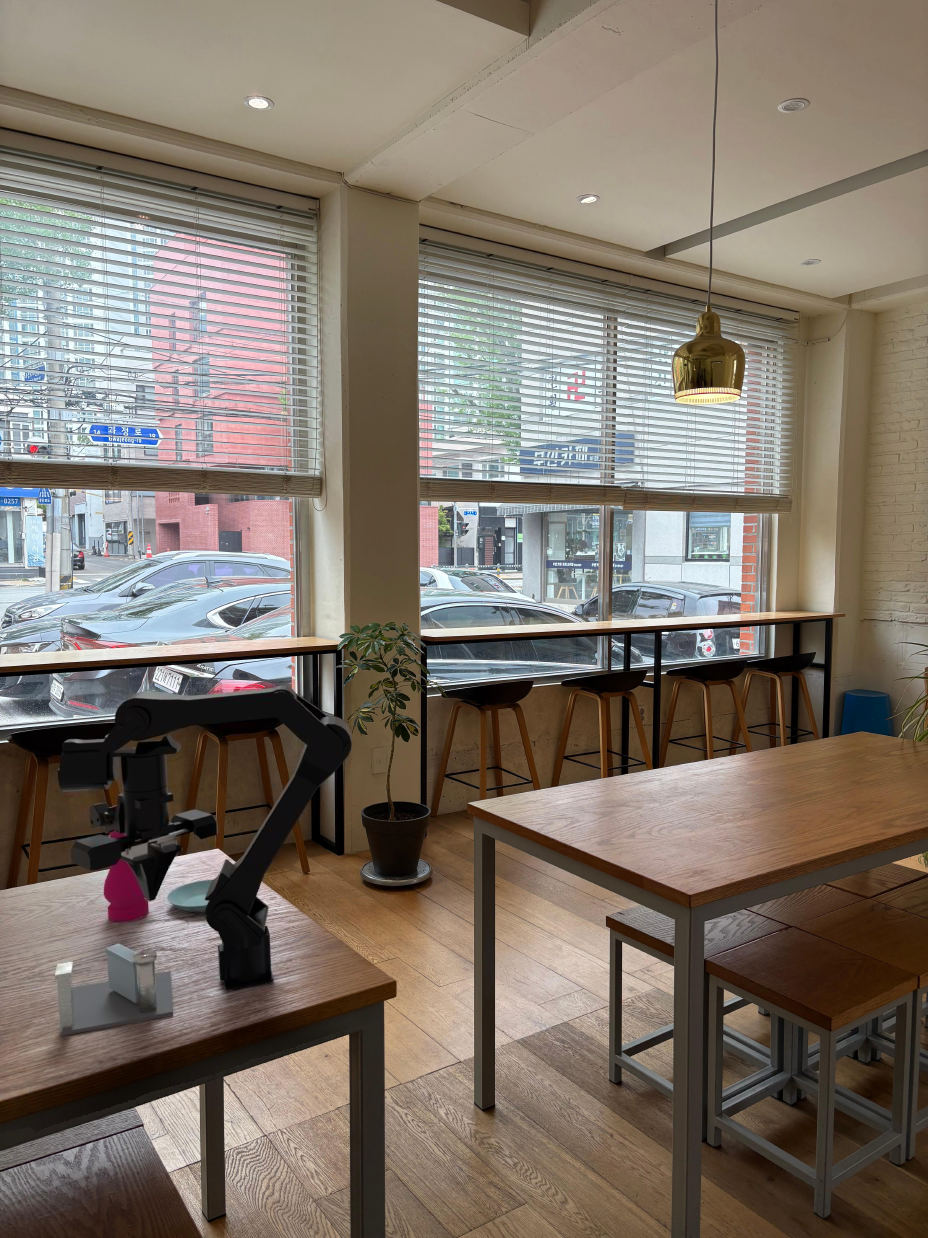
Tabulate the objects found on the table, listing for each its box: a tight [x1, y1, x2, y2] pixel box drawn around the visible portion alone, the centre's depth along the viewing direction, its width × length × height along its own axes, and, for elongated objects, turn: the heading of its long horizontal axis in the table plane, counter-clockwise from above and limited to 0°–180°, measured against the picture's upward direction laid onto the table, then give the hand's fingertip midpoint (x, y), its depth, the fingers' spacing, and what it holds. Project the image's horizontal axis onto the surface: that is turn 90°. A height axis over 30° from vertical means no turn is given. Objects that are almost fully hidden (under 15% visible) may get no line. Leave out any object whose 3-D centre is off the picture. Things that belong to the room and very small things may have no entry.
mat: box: [61, 970, 174, 1037], centre depth 117 cm, size 13×12×1 cm
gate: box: [105, 943, 138, 1003], centre depth 118 cm, size 7×2×6 cm, turn 50°
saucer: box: [167, 879, 213, 913], centre depth 151 cm, size 12×12×2 cm
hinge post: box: [134, 949, 158, 1013], centre depth 115 cm, size 3×3×8 cm
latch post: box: [54, 961, 74, 1035], centre depth 111 cm, size 2×3×8 cm, turn 20°
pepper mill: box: [103, 804, 150, 923], centre depth 146 cm, size 7×7×20 cm
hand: (150, 900), depth 121 cm, fingers closed
